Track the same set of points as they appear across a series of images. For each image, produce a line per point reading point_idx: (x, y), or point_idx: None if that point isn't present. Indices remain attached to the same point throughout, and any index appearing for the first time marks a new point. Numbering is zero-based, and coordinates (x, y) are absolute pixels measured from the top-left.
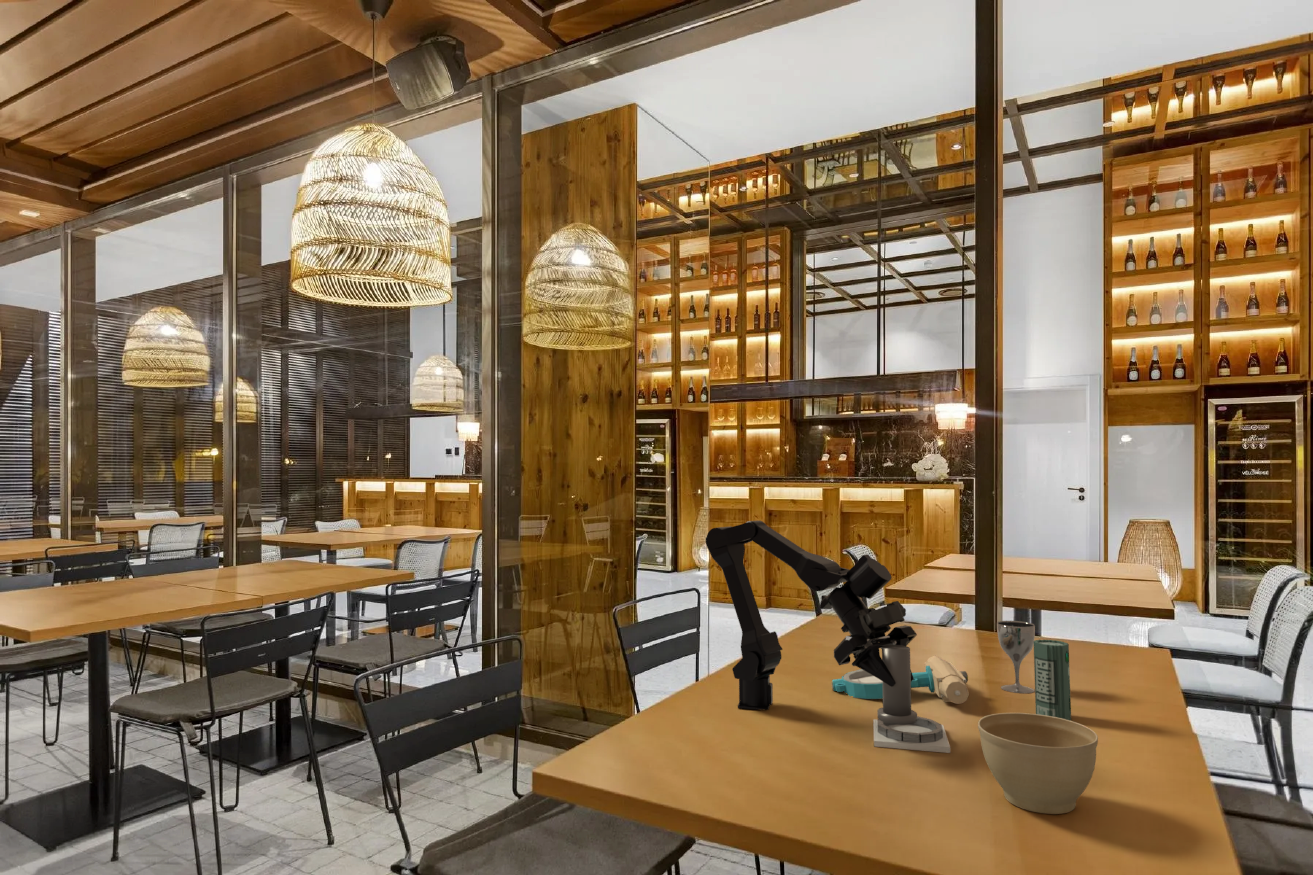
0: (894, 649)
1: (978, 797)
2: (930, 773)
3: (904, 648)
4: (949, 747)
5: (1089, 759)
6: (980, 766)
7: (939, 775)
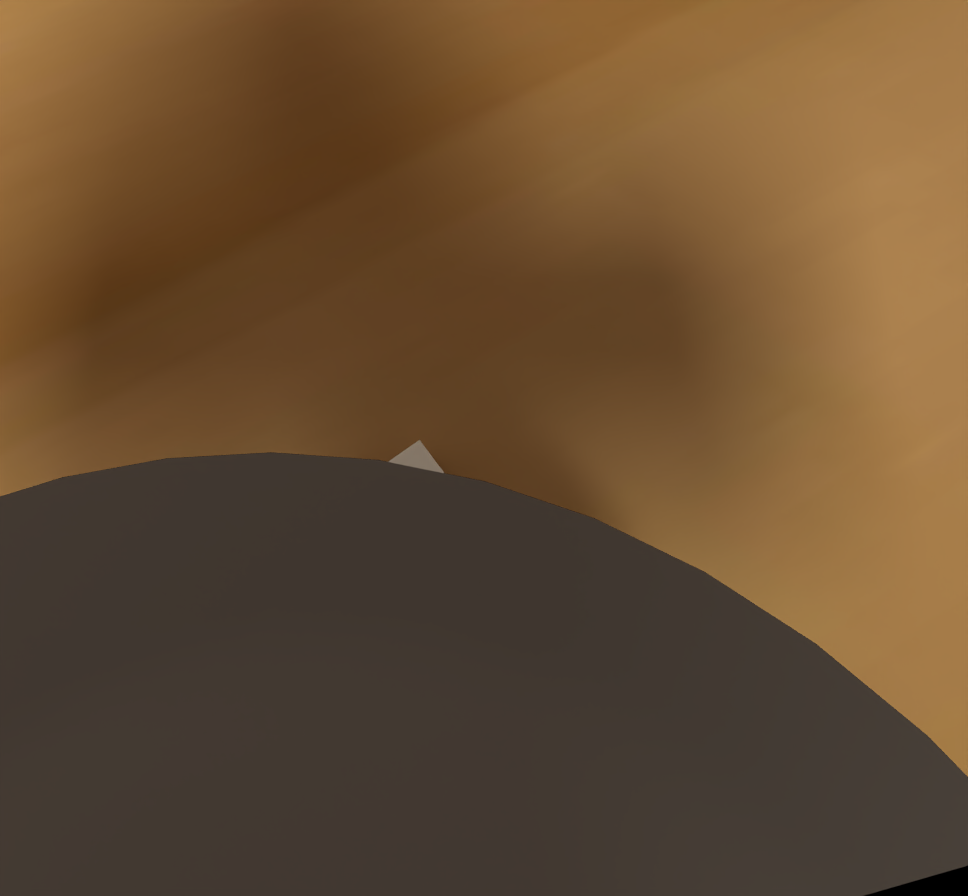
0: None
1: (934, 16)
2: (881, 327)
3: (26, 810)
4: (421, 445)
5: None
6: (503, 226)
7: (857, 279)
